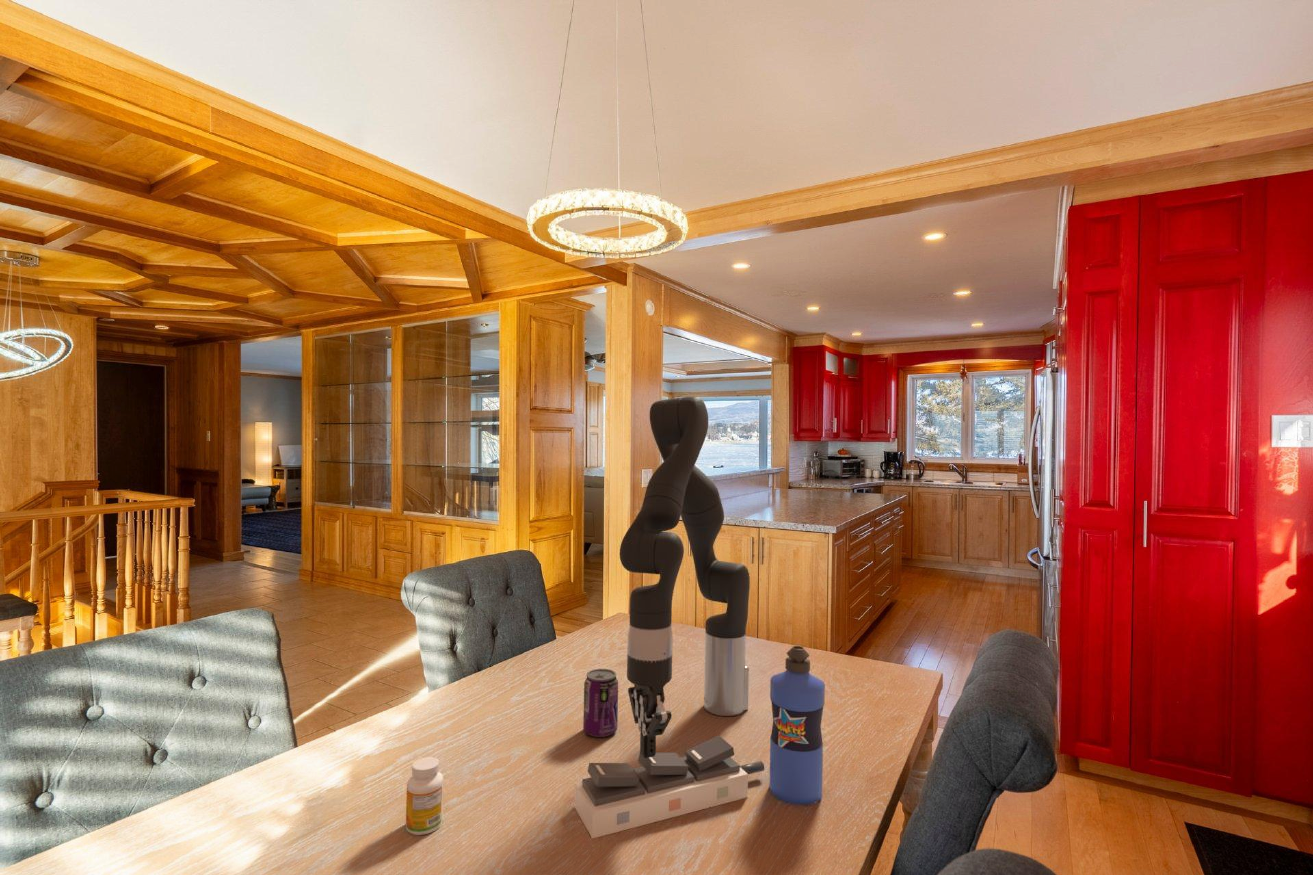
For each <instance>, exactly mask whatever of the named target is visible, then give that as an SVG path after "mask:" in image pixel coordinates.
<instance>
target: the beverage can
mask: <svg viewBox="0 0 1313 875" xmlns="http://www.w3.org/2000/svg"><path fill="white" fill-rule="evenodd" d="M583 683H584V684H583V685H584V687H583V721H582V722H583V723H582V725H583V726H582V728H583V731H584V733H586V734H587V735H590V736H592V737H595V738H604V737H608V736H610V735H612V734H614V733H616V732H617V731H618V721H619V720H618V715H619V713H618V712H619V681H618V679H617V672H616V671H614V670H612V669H608V668H595V669H592V670H589V671H588V672H586V678H585V680H584V682H583Z"/></svg>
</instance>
